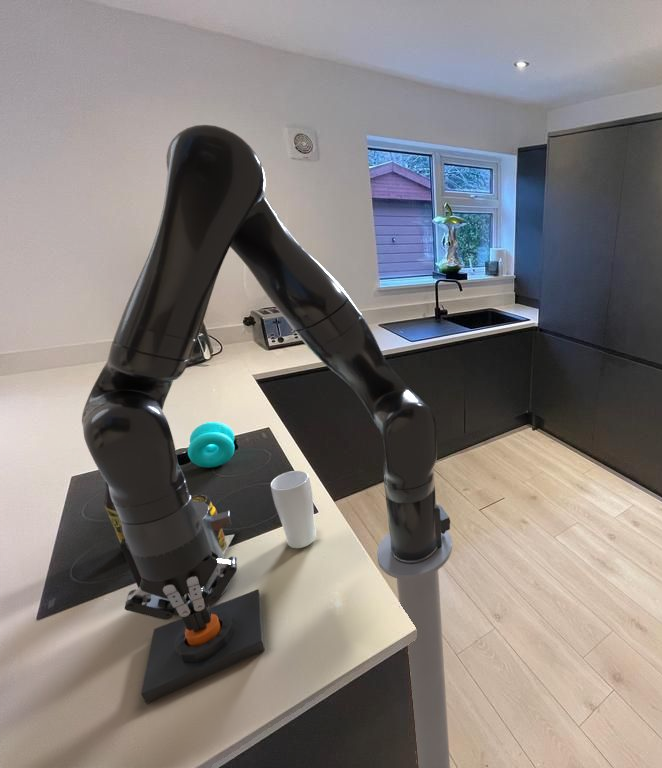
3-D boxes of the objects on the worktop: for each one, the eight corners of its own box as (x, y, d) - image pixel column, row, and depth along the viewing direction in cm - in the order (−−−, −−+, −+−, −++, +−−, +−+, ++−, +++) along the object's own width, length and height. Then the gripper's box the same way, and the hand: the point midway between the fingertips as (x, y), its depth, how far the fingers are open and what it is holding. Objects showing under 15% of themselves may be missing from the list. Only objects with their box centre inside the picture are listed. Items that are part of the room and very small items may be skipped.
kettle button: (221, 618, 63) (218, 609, 62) (220, 639, 60) (217, 629, 59) (189, 631, 61) (186, 621, 60) (187, 653, 57) (183, 643, 57)
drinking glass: (327, 535, 84) (316, 475, 79) (299, 557, 79) (286, 494, 73) (305, 525, 87) (293, 466, 82) (276, 545, 81) (261, 484, 76)
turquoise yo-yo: (193, 474, 104) (182, 440, 100) (195, 456, 112) (185, 425, 108) (238, 463, 109) (229, 431, 106) (237, 447, 117) (229, 416, 113)
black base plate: (261, 598, 70) (256, 581, 68) (264, 650, 61) (259, 632, 60) (158, 638, 63) (150, 620, 61) (146, 704, 54) (136, 685, 53)
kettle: (246, 558, 78) (225, 485, 72) (247, 591, 71) (224, 513, 65) (153, 590, 71) (121, 511, 65) (144, 630, 64) (107, 546, 58)
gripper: (227, 501, 59) (252, 588, 66) (106, 535, 52) (147, 628, 59) (226, 532, 54) (254, 623, 60) (90, 574, 47) (137, 672, 53)
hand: (200, 625), depth 59 cm, fingers closed
